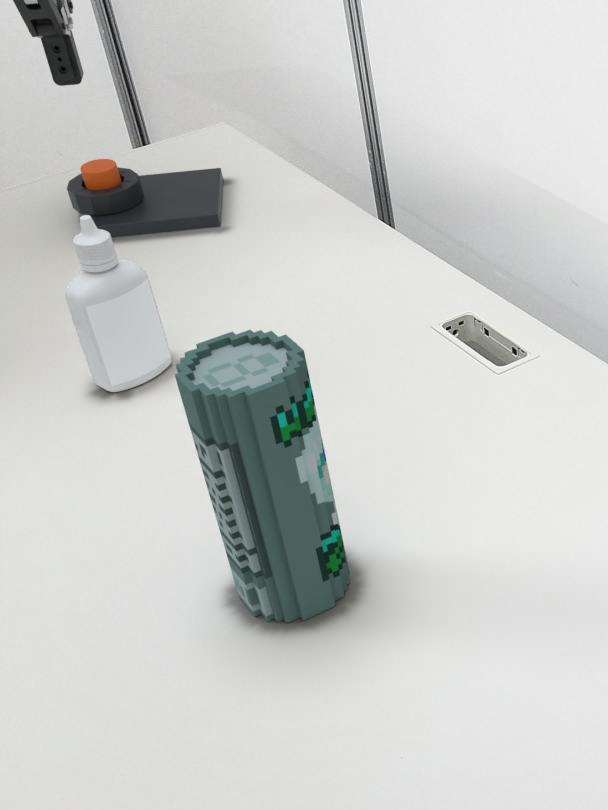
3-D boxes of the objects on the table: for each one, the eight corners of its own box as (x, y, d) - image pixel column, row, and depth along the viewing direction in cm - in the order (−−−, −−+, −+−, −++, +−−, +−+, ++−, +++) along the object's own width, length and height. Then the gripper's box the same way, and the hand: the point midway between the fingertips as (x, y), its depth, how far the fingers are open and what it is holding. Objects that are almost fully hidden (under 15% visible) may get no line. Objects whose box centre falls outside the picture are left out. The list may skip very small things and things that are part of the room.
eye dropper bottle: (178, 380, 89) (132, 223, 81) (97, 398, 87) (42, 239, 79) (170, 351, 92) (125, 196, 84) (91, 367, 90) (38, 211, 82)
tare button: (84, 194, 106) (78, 174, 105) (88, 180, 108) (82, 160, 107) (120, 190, 107) (114, 171, 105) (123, 176, 109) (117, 157, 108)
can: (366, 591, 72) (322, 366, 61) (270, 636, 69) (208, 409, 59) (317, 538, 75) (268, 318, 65) (224, 579, 72) (158, 357, 62)
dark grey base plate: (71, 242, 105) (60, 209, 103) (84, 193, 112) (74, 161, 110) (220, 227, 107) (212, 194, 105) (223, 180, 114) (216, 148, 112)
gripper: (-41, -179, 93) (32, 58, 105) (-75, -141, 84) (10, 116, 95) (63, -185, 94) (123, 51, 106) (41, -147, 85) (111, 107, 96)
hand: (70, 81), depth 101 cm, fingers closed
